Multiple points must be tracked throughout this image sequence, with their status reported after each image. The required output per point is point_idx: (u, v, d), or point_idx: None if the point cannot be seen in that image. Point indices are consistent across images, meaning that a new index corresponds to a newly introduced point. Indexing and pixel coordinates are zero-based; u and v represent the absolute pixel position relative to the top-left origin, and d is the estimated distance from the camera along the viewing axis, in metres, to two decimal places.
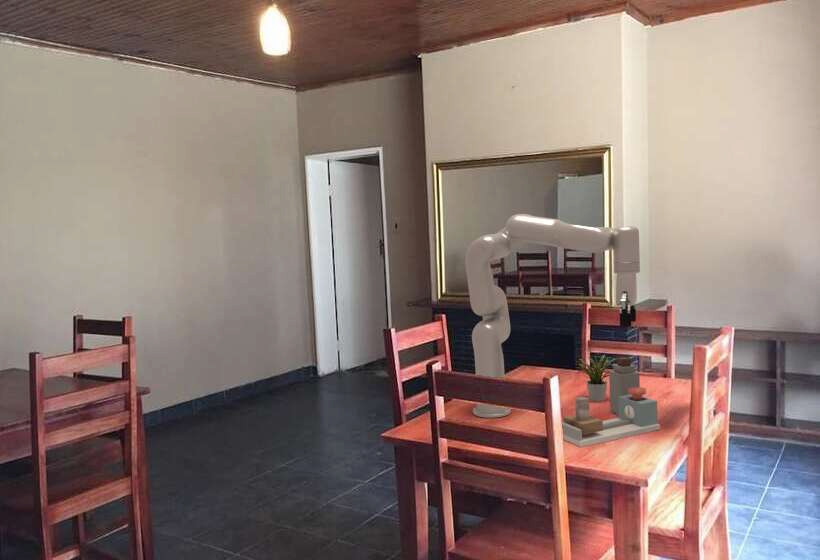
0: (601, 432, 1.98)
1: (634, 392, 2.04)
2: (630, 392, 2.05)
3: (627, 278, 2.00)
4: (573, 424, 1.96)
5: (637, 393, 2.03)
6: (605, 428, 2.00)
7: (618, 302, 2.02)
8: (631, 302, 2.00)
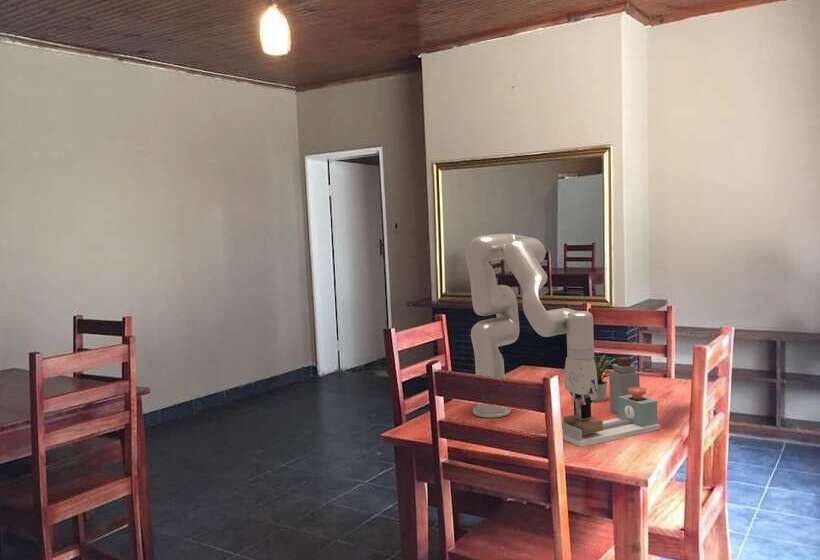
0: (601, 432, 1.98)
1: (634, 392, 2.04)
2: (630, 392, 2.05)
3: (593, 365, 1.93)
4: (573, 424, 1.96)
5: (637, 393, 2.03)
6: (605, 428, 2.00)
7: (587, 392, 1.92)
8: None
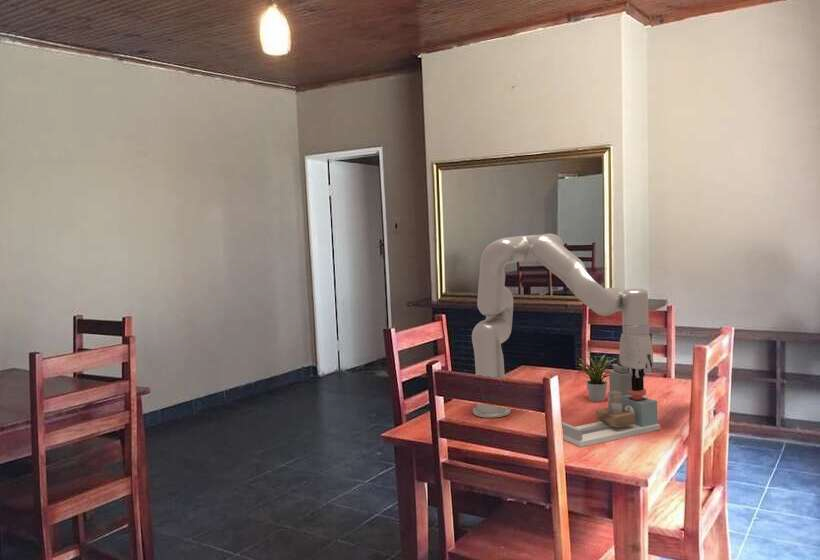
0: (601, 432, 1.98)
1: (634, 393, 2.04)
2: (630, 393, 2.05)
3: (649, 340, 2.00)
4: (606, 417, 2.01)
5: (637, 394, 2.03)
6: (605, 428, 2.00)
7: (644, 366, 2.00)
8: (652, 364, 2.01)
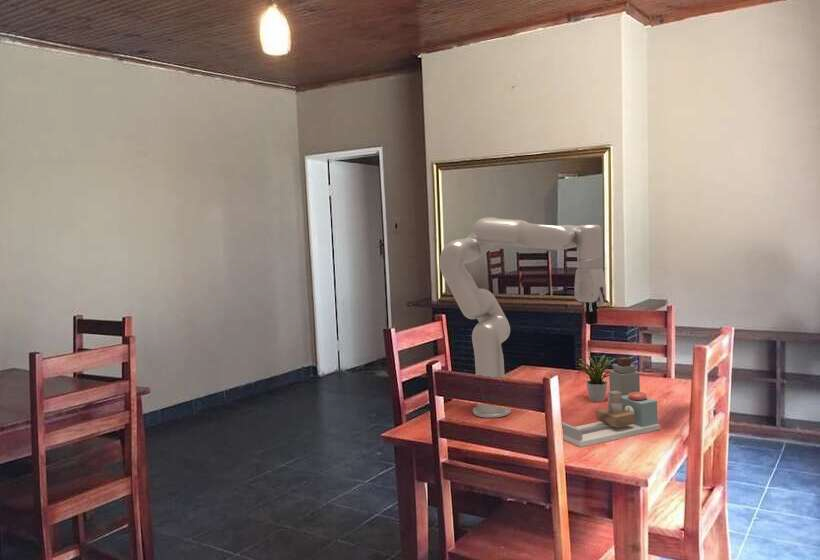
0: (601, 432, 1.98)
1: (634, 397, 2.04)
2: (630, 397, 2.05)
3: (602, 273, 2.06)
4: (606, 417, 2.01)
5: (637, 398, 2.03)
6: (605, 428, 2.00)
7: (596, 298, 2.05)
8: (605, 297, 2.07)
